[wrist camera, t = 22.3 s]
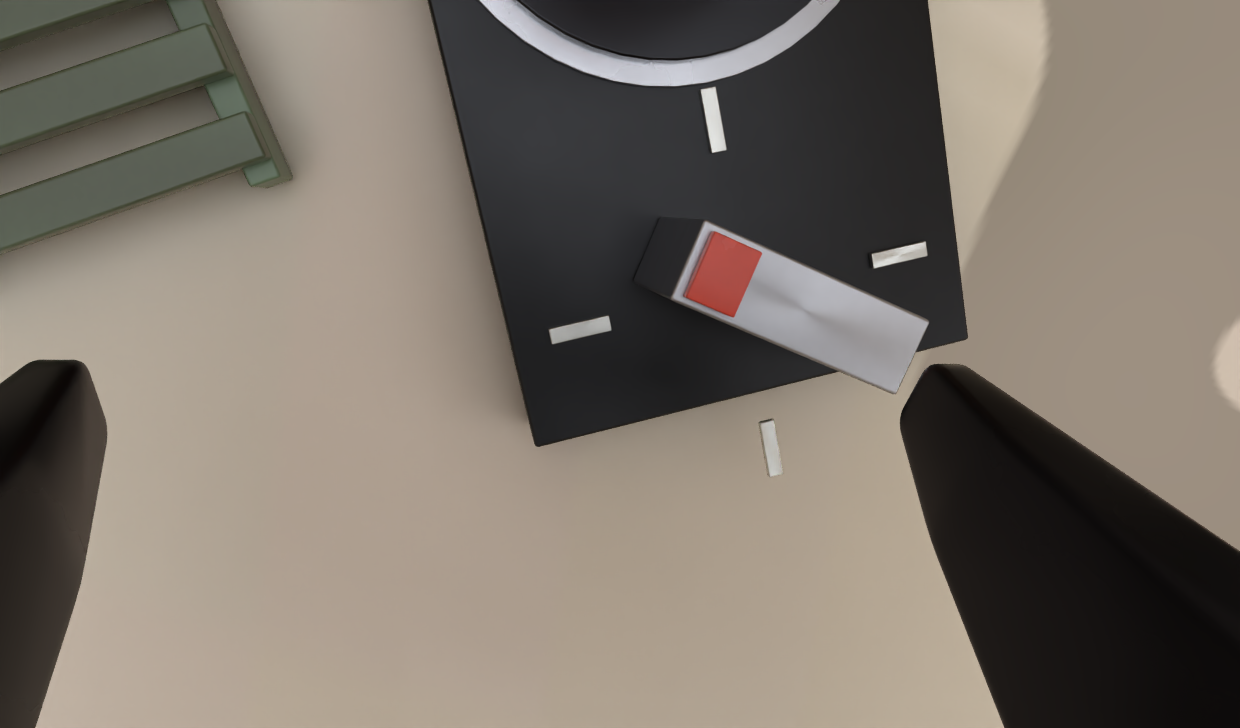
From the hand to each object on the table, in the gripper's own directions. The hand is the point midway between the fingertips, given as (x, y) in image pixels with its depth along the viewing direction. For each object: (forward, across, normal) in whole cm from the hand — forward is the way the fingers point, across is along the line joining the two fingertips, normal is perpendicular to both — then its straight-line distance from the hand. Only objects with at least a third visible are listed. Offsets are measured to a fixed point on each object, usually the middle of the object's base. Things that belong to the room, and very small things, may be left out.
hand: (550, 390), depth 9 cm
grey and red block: (+8, -6, +5) cm, 11 cm away
